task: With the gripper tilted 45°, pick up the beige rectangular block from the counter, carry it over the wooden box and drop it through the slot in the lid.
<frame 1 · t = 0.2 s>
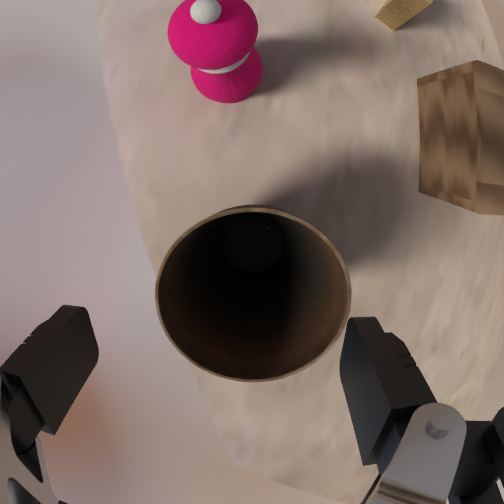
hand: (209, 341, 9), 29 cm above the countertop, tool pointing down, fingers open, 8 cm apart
beige rectangular block: (392, 13, 28), on the countertop
plant pot: (253, 244, 38), on the countertop
wooden box: (462, 141, 33), on the countertop
pepper mill: (230, 78, 32), on the countertop
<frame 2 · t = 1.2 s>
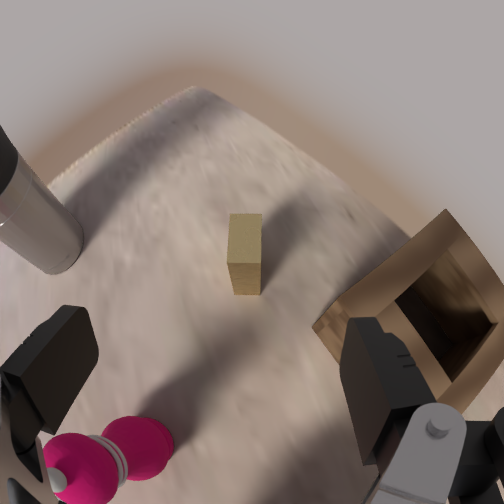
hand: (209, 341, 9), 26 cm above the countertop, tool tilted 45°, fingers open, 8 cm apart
beige rectangular block: (247, 274, 38), on the countertop
wooden box: (394, 338, 34), on the countertop
pepper mill: (148, 441, 30), on the countertop
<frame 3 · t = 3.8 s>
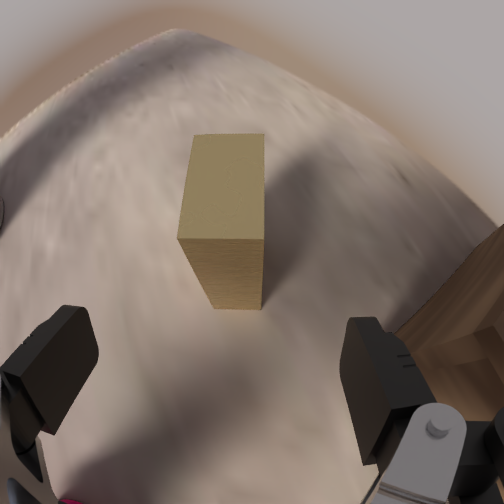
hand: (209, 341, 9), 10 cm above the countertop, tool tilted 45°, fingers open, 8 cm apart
beige rectangular block: (238, 272, 21), on the countertop
wooden box: (480, 374, 17), on the countertop
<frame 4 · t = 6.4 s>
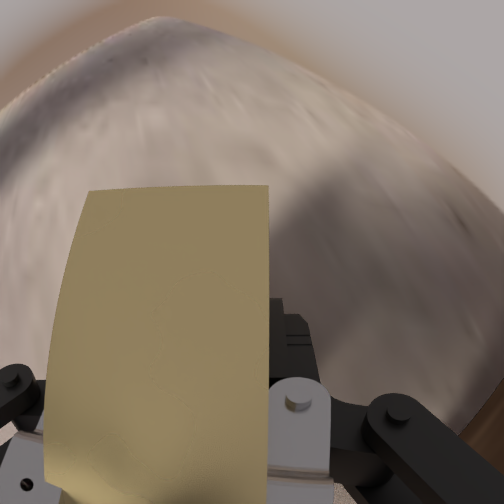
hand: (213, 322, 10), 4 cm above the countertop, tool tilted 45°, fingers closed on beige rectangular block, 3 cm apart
beige rectangular block: (224, 386, 12), on the countertop, touching gripper
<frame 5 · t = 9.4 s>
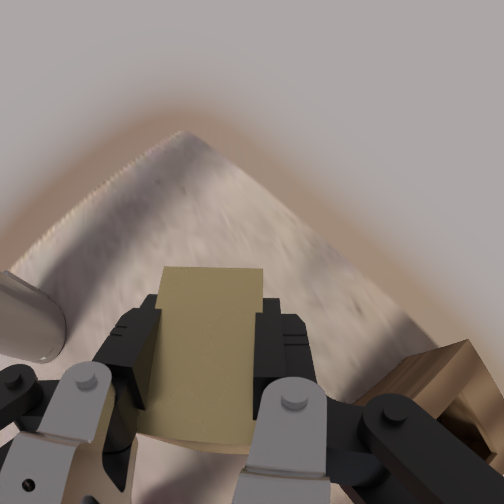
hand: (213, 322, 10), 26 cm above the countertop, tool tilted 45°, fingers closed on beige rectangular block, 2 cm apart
beige rectangular block: (230, 411, 15), point 18 cm above the countertop, tilted 15°, touching gripper
wooden box: (393, 440, 29), on the countertop
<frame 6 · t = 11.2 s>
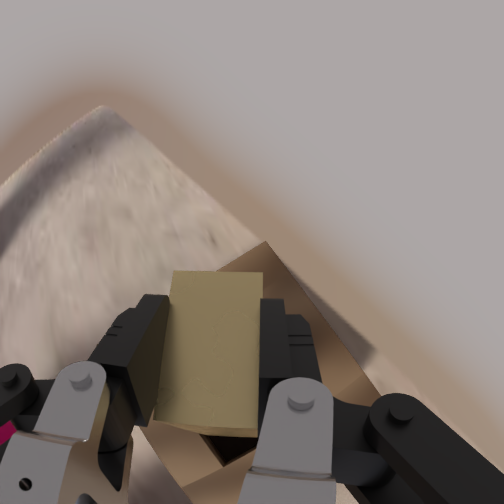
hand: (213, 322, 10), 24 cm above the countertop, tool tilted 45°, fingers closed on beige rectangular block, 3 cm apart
beige rectangular block: (233, 396, 17), point 15 cm above the countertop, tilted 12°, touching gripper
wooden box: (243, 384, 31), on the countertop
pepper mill: (26, 442, 27), on the countertop
when the fingers open (19 cm above the countertop, at t = 12.4 s): beige rectangular block drops 10 cm, resting in wooden box.
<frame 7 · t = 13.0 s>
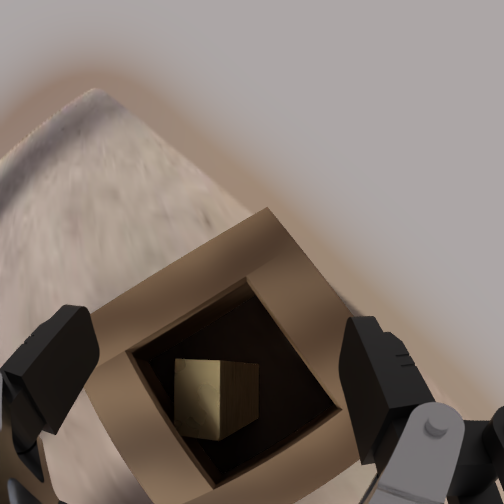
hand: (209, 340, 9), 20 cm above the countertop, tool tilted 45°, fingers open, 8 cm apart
beige rectangular block: (242, 390, 26), resting in wooden box, tilted 14°
wooden box: (241, 385, 27), on the countertop
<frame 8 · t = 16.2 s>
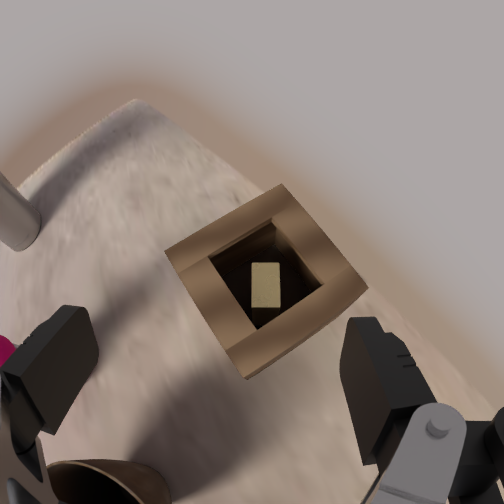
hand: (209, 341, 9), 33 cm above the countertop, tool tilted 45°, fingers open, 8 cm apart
beige rectangular block: (264, 307, 42), resting in wooden box
plant pot: (144, 487, 32), on the countertop
wooden box: (263, 303, 43), on the countertop
pepper mill: (68, 374, 38), on the countertop
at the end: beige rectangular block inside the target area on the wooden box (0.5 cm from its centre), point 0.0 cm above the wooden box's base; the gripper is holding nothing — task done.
